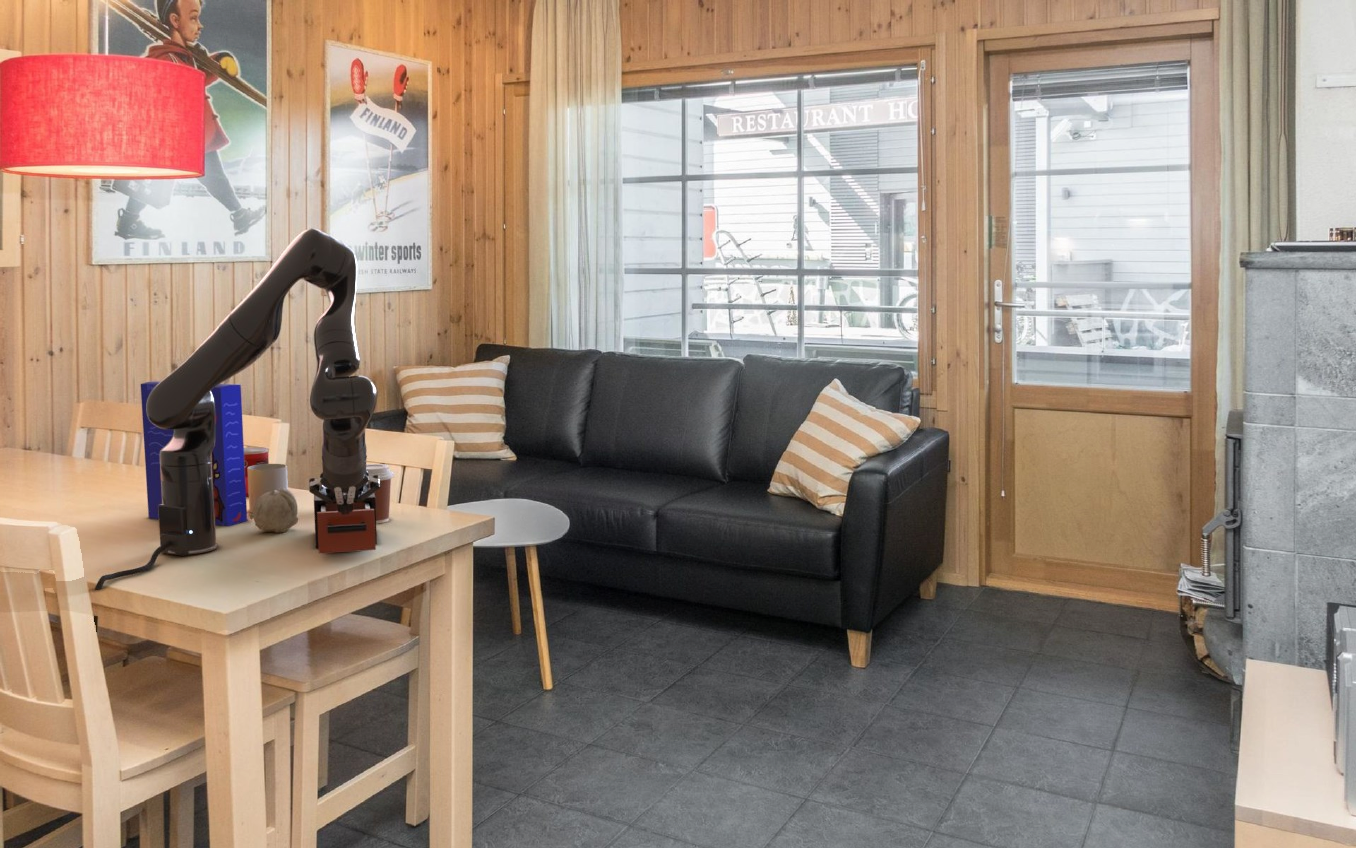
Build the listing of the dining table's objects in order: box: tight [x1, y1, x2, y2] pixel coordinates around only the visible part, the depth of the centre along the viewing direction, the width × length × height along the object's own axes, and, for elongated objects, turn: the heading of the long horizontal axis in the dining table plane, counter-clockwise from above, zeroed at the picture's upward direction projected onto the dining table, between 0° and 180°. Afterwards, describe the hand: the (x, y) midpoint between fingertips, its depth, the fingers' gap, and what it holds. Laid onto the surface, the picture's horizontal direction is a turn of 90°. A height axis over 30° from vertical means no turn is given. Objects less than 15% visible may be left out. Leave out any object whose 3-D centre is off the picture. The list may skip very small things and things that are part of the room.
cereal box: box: [140, 380, 248, 527], centre depth 246 cm, size 22×6×30 cm, turn 70°
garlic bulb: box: [247, 488, 299, 534], centre depth 236 cm, size 9×8×10 cm
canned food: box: [244, 446, 270, 497], centre depth 276 cm, size 8×8×11 cm
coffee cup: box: [366, 463, 395, 525], centre depth 246 cm, size 9×9×12 cm
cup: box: [247, 463, 289, 514], centre depth 257 cm, size 8×8×10 cm
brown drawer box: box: [317, 501, 377, 554], centre depth 219 cm, size 17×10×8 cm, turn 18°
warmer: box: [313, 491, 378, 550], centre depth 229 cm, size 14×12×10 cm
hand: (345, 510), depth 213 cm, fingers closed
